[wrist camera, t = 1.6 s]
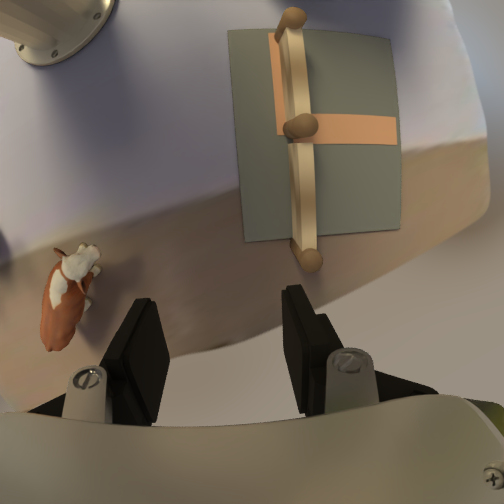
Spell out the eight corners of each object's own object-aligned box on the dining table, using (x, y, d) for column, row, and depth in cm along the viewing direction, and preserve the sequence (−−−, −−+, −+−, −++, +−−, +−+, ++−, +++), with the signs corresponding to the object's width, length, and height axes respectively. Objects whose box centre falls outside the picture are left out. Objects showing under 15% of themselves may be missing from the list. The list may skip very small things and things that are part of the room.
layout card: (227, 31, 22) (227, 30, 22) (388, 40, 23) (390, 38, 22) (244, 241, 29) (245, 242, 28) (398, 228, 29) (400, 228, 29)
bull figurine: (129, 235, 28) (96, 266, 20) (83, 328, 31) (54, 371, 23) (94, 211, 27) (52, 234, 19) (54, 308, 30) (20, 346, 22)
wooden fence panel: (273, 29, 22) (282, 6, 17) (292, 29, 22) (305, 7, 17) (283, 139, 26) (295, 137, 21) (303, 138, 26) (319, 136, 21)
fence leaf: (284, 143, 25) (295, 142, 21) (304, 143, 25) (319, 142, 21) (290, 253, 29) (301, 273, 24) (308, 252, 29) (322, 271, 24)
